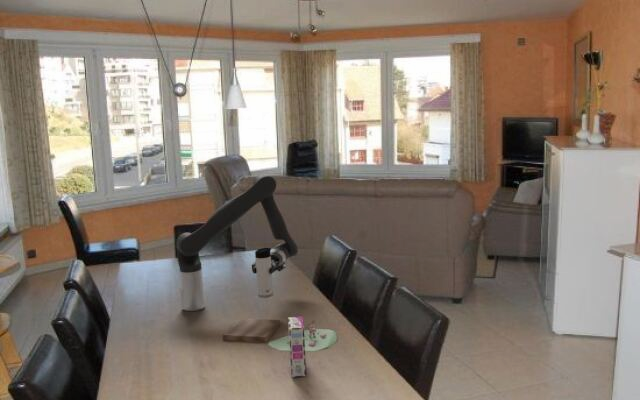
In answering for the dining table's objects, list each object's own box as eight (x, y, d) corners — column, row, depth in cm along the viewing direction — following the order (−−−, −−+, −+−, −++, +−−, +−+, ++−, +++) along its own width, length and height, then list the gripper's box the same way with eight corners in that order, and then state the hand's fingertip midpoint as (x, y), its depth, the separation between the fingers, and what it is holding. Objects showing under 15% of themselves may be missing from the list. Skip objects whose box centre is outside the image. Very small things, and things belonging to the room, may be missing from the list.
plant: (278, 360, 202) (277, 335, 200) (262, 339, 221) (261, 316, 219) (345, 346, 210) (344, 322, 209) (324, 326, 229) (323, 304, 228)
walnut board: (222, 340, 221) (222, 334, 220) (239, 323, 237) (239, 318, 236) (265, 342, 216) (265, 336, 216) (280, 324, 233) (279, 319, 232)
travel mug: (271, 298, 239) (268, 250, 235) (256, 297, 240) (252, 250, 236) (276, 293, 245) (272, 246, 241) (260, 292, 246) (257, 246, 242)
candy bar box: (307, 377, 187) (304, 327, 184) (291, 378, 186) (288, 329, 184) (305, 361, 198) (302, 315, 195) (290, 363, 197) (287, 316, 195)
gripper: (258, 251, 255) (244, 262, 239) (290, 251, 252) (278, 262, 236) (259, 268, 257) (246, 279, 241) (291, 268, 253) (279, 280, 237)
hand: (262, 271), depth 238 cm, fingers closed on travel mug, 6 cm apart
